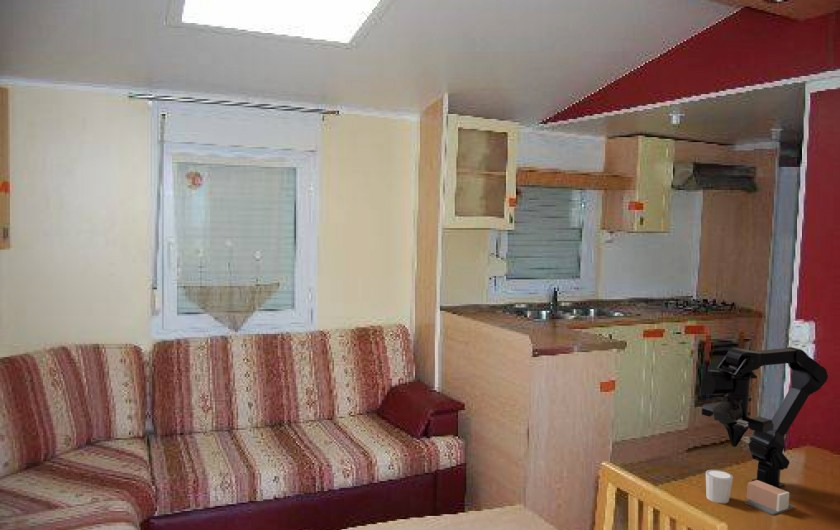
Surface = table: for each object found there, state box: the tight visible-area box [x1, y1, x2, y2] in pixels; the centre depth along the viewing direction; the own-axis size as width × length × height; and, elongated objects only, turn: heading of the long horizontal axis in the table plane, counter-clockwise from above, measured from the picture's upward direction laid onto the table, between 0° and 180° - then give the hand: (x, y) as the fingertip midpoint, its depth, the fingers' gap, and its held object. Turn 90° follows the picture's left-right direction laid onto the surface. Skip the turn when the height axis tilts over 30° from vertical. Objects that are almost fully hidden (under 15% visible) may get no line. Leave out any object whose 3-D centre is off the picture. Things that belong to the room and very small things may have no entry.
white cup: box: [705, 469, 734, 504], centre depth 176 cm, size 7×7×7 cm
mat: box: [743, 499, 796, 516], centre depth 173 cm, size 10×8×1 cm
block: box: [746, 480, 790, 512], centre depth 173 cm, size 4×4×9 cm
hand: (734, 446), depth 183 cm, fingers closed
